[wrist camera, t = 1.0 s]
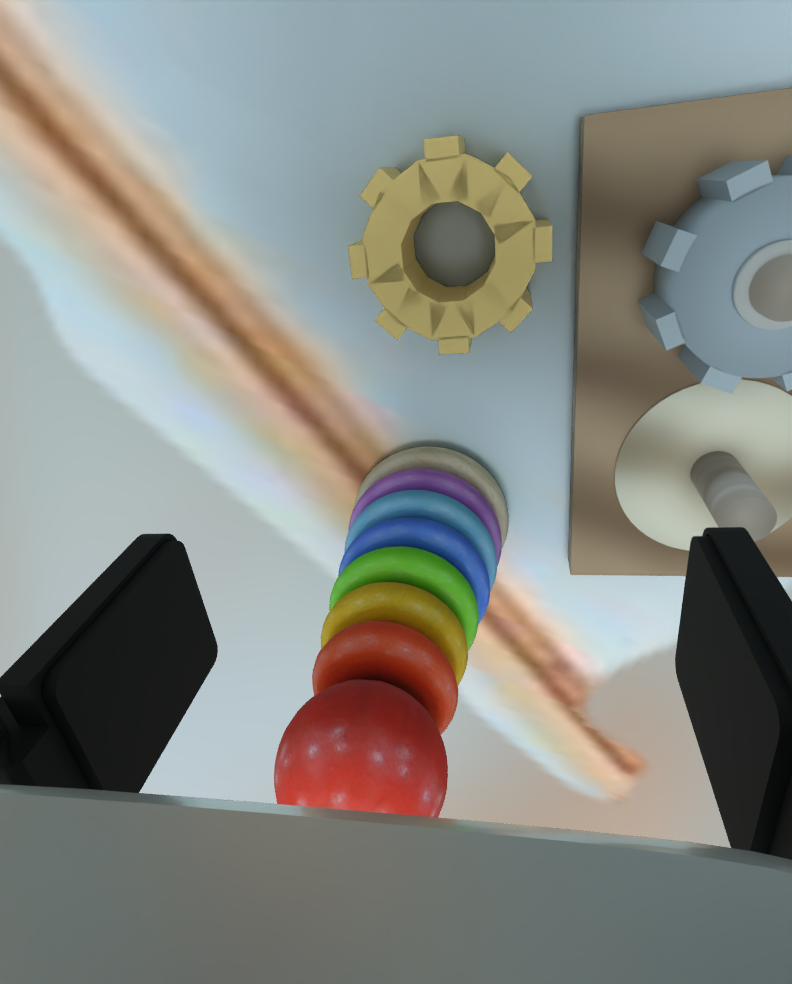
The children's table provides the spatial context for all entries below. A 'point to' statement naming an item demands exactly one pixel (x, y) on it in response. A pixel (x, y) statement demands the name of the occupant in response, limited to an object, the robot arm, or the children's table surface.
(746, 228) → the slate gear
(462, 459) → the stacking toy
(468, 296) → the ochre gear
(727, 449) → the gear board
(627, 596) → the children's table surface
